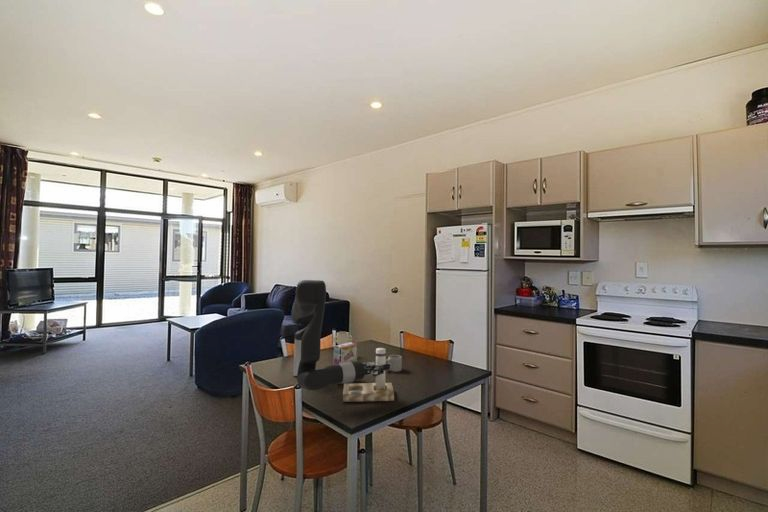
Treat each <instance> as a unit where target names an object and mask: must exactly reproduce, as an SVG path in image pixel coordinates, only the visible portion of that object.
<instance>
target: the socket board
mask: <svg viewBox="0 0 768 512" xmlns="http://www.w3.org/2000/svg"><path fill="white" fill-rule="evenodd" d="M390 401H391V402H392V401H393V402H394V401H395V391H394V388H393V384H392V382H385V389H384V390H377V389H376V382H361V383H360V382H359V383H358V382H357V383H354V382H349V383H343V390H342V402H343V403H344V402H345V403H346V402H348V403H349V402H390Z"/></svg>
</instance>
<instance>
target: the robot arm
mask: <svg viewBox="0 0 768 512" xmlns="http://www.w3.org/2000/svg"><path fill="white" fill-rule="evenodd" d="M326 297H327V287H326V283H325V281H324V280H320V279H319V280H314V279H304V280H303V279H302V280H300V281H299V282H297V285H296V288H295V299H294V302H293V303H294V304H293V306H292V307H293V308H292V310H291V320H292V322H293V324H295V325H306V326H305V327H304V328H302V329H300V330H298V331H296V332H295V333H294V355H293V376H294V377H297V378H296V380H297V383H298V385H299V387H300V388H301V389H304V390H307V391H319V390H321V389H322V390H323V389H325V388H326V387H330V386H334V385H335V386H336V385H341V384H340V383H342V384H344V383H354V382H357V381H362V380H363V379H364V377H365V376H371V375H372V376H373V377H376V376H378V375H380V374H383V373H384V370H385V371H389V369H390V364H388V363H386V364H384V365H376V361H372V360H367V361H365V360H364V361H361V360H358V359H357V361H351V362H345V363H341V364H338V365H333V364H332V365H329V366H326V367H324V368H320V369H319V368H318V369H316V367H317V362H319V361H320V359H321V342H322V341H321V338H322V337H321V335H322V330H323V322H324V314H325V309H326V307H325V306H326V299H327V298H326ZM378 367H379V368H378Z"/></svg>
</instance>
